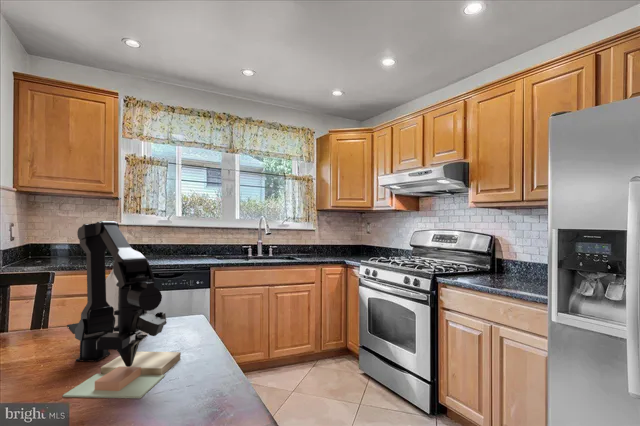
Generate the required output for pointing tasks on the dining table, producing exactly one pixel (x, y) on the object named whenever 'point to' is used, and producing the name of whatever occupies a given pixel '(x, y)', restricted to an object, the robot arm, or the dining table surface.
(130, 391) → the mat
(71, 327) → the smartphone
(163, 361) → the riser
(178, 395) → the dining table surface
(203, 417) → the dining table surface
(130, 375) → the tile
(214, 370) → the dining table surface
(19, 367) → the dining table surface
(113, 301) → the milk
